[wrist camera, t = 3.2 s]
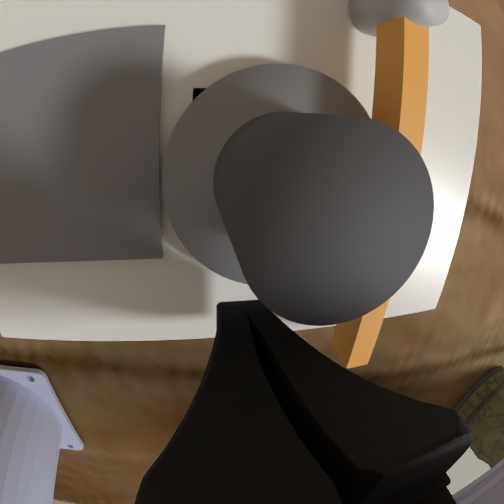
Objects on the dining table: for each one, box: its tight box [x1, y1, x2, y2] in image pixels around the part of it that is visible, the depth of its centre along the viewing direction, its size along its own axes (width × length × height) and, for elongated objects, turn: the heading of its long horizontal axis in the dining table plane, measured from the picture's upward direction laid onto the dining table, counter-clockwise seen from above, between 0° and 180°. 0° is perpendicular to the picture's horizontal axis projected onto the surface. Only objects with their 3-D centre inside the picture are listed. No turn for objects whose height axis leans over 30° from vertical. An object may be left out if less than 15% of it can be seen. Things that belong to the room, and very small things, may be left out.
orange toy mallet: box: [331, 0, 449, 369], centre depth 9 cm, size 2×13×3 cm, turn 177°
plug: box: [162, 63, 434, 326], centre depth 9 cm, size 7×7×7 cm
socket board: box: [0, 0, 482, 341], centre depth 10 cm, size 20×14×3 cm
